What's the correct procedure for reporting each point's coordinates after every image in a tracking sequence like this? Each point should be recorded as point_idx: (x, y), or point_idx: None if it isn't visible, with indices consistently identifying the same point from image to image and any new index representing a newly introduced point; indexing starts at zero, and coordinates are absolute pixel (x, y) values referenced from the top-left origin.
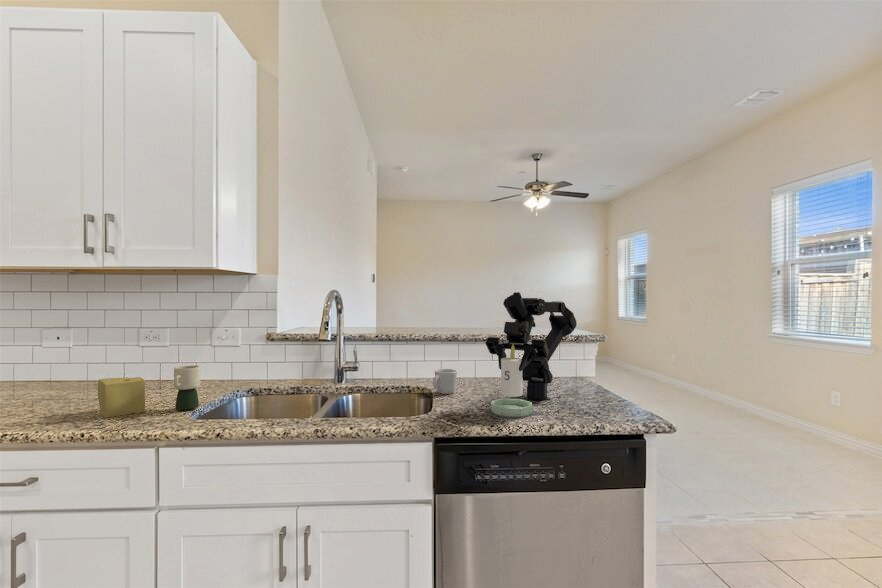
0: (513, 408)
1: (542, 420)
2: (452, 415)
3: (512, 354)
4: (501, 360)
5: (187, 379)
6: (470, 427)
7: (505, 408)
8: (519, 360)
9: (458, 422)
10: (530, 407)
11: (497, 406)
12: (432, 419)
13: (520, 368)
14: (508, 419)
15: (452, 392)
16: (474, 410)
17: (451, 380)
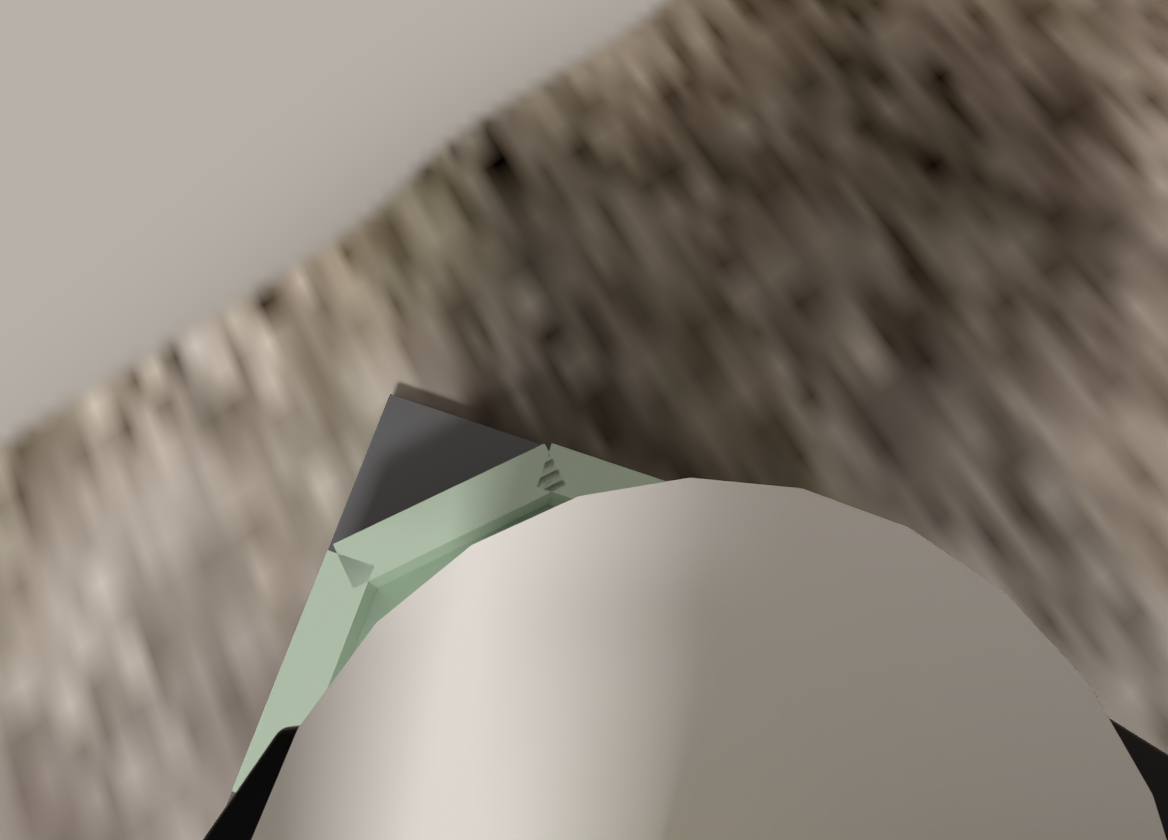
0: (420, 511)
1: (89, 681)
2: (1040, 265)
3: None
4: (997, 611)
5: None
6: (648, 28)
7: (515, 458)
8: (261, 816)
9: (833, 98)
10: (249, 747)
11: (649, 483)
12: (1083, 52)
13: (271, 746)
14: (438, 412)
15: None
16: (996, 586)
17: None
